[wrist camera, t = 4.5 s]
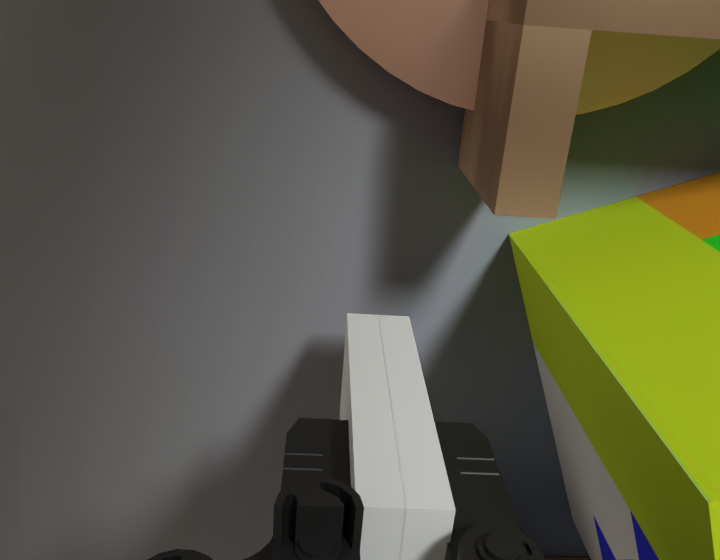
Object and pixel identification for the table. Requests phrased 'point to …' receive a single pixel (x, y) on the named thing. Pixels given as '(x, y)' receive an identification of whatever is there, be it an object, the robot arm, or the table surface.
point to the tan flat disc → (465, 41)
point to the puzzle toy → (633, 367)
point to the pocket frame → (548, 91)
